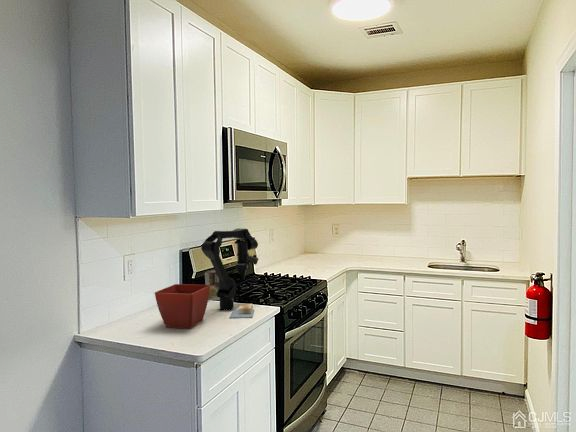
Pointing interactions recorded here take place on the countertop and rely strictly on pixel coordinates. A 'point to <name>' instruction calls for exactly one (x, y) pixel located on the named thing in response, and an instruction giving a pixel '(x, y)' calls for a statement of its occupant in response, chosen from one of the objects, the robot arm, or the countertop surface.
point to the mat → (236, 314)
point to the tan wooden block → (245, 308)
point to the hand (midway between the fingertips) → (243, 279)
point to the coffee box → (212, 284)
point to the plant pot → (182, 304)
